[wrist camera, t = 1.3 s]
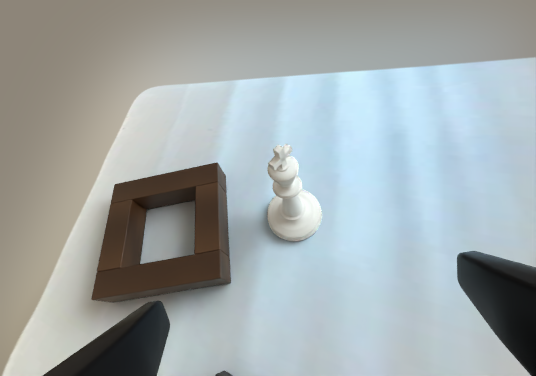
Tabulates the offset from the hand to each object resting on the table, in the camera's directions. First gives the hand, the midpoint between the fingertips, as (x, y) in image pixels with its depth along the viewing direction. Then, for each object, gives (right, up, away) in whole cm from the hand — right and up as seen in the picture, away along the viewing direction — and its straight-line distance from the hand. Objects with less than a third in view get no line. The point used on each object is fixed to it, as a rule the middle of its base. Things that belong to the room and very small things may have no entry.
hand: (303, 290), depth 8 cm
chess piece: (+1, +1, +16) cm, 16 cm away
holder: (-10, -1, +17) cm, 20 cm away
